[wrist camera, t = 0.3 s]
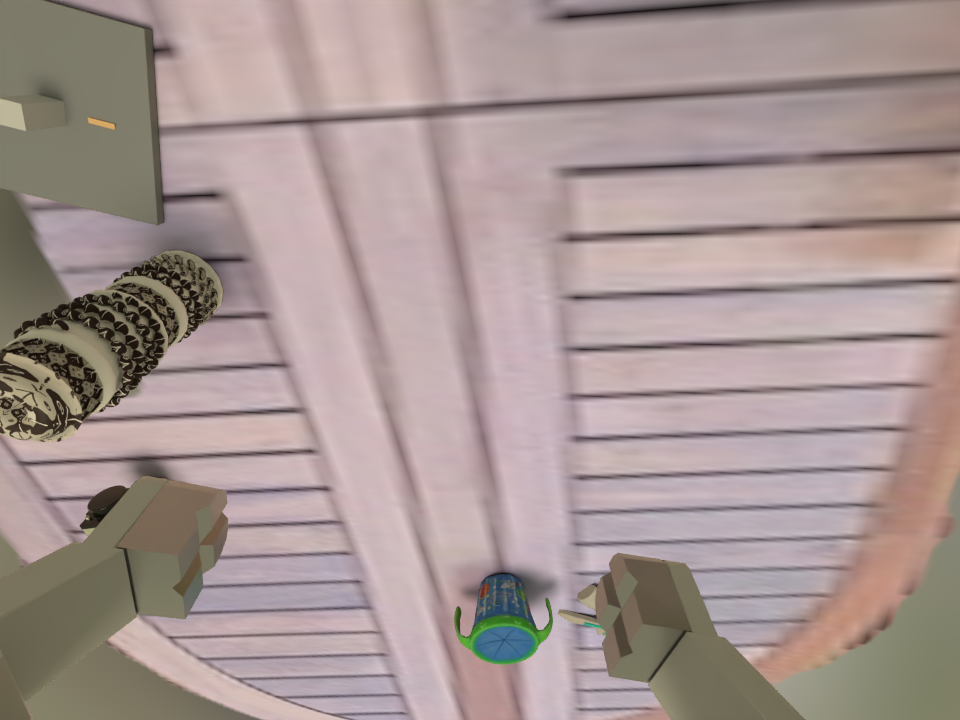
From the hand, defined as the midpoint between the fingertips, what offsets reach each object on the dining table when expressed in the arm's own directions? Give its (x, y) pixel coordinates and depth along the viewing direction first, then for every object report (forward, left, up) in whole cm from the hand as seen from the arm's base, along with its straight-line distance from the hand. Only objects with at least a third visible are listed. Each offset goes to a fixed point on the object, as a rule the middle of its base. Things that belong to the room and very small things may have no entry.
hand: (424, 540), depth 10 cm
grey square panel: (+5, -40, -47) cm, 62 cm away
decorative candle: (+21, -29, -47) cm, 59 cm away
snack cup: (+64, +21, -47) cm, 82 cm away
